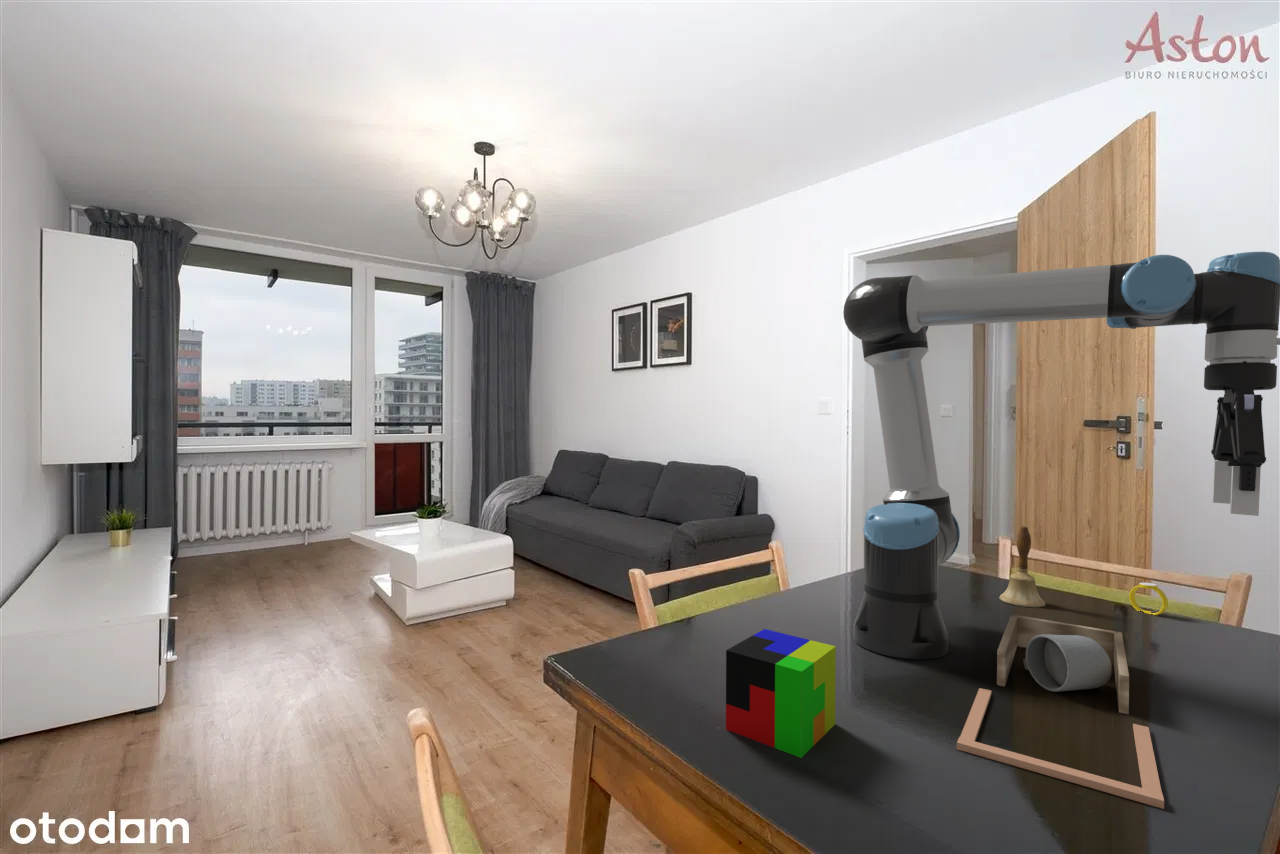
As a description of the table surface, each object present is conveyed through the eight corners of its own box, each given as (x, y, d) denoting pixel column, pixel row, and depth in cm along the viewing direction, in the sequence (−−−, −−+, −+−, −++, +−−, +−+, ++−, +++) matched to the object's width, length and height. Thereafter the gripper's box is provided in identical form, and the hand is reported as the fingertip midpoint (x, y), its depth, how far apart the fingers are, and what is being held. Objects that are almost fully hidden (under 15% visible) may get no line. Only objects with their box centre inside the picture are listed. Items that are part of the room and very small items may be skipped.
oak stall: (996, 684, 89) (997, 650, 89) (1010, 643, 106) (1011, 614, 105) (1128, 714, 80) (1129, 676, 80) (1121, 663, 97) (1121, 632, 97)
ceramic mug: (1117, 696, 85) (1117, 641, 86) (1068, 701, 84) (1068, 645, 84) (1052, 667, 96) (1052, 618, 96) (1007, 671, 94) (1007, 621, 94)
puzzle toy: (764, 701, 84) (764, 628, 84) (835, 724, 78) (835, 646, 77) (725, 729, 76) (726, 650, 76) (801, 758, 70) (801, 671, 70)
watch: (1127, 611, 124) (1125, 581, 124) (1135, 609, 125) (1133, 580, 126) (1163, 618, 119) (1161, 587, 119) (1170, 616, 120) (1168, 585, 120)
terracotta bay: (956, 749, 72) (956, 742, 72) (979, 691, 87) (979, 685, 87) (1163, 809, 61) (1164, 801, 61) (1148, 731, 76) (1148, 724, 76)
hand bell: (1044, 599, 131) (1045, 525, 131) (1046, 610, 124) (1046, 531, 124) (999, 593, 135) (1000, 522, 135) (998, 603, 128) (999, 527, 128)
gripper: (1303, 354, 76) (1295, 523, 77) (1255, 367, 97) (1249, 501, 97) (1221, 356, 81) (1214, 516, 81) (1192, 369, 101) (1186, 497, 101)
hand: (1233, 508), depth 89 cm, fingers open, 13 cm apart
